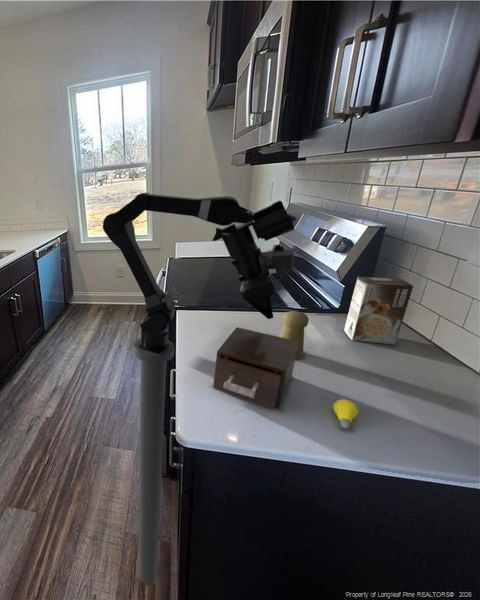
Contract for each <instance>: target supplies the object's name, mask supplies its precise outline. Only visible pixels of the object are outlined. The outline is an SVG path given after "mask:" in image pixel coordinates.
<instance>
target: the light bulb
mask: <svg viewBox="0 0 480 600" xmlns="http://www.w3.org/2000/svg"><path fill="white" fill-rule="evenodd" d="M332 407H333V412H334V413H335V415H336V416H337V417H338V420H339V422H340V427H341V428H343V429H345V430H347V429H350V428H351V423H352V422H353V420H354V419H355V418H356V417H357V416H358V414H359V411H358V407H357V405H356V404H355V403H354V402H353V401H351V400H349V399H345V398H343V399H337V400H336V401H335V402H334V403H333V405H332Z"/></svg>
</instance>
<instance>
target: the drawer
mask: <svg viewBox="0 0 480 600" xmlns="http://www.w3.org/2000/svg"><path fill="white" fill-rule="evenodd" d="M215 366H216V372H215V371H214V376H215V381H214V380H213V384H214V387H213V389H214V390H217V391H219V392H223V393H225V394H229V395H231V396H234V397H237V398H239V399H242V400H245V401H247V402H250V403H253V404H256V405H259V406H261V407H265V408H267V409H270V410H273V411H275V410H276V409H275V407H276V402H277V397H278V392H279V387H280V382H281V377H282V375H281V373H280V372H277V371H273V370H270V369H266V368H263V367H259V366H256V365H253V364H249V363H246V362H242V361H239V360H235V359H232V358H228V357H225V356H224V358H221V357H218V358H217V363H216V362H215Z"/></svg>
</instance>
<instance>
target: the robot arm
mask: <svg viewBox="0 0 480 600" xmlns="http://www.w3.org/2000/svg"><path fill="white" fill-rule="evenodd" d="M145 211H148V212H154V213H164V214H172V215H179V216H187V217H188V216H189V217H195V218H197V219H200V220H203V221H205V222H208V223H211V224H214V225H218V226H222V227H223V228H220V227H216V228H215V231H214V234H213V236H212V239H211V240H212V242H216V241H219V240H222V241H223V243H224V246H225V248H226V250H227V253H228V255H229V257H230V261H231V265H232V266H234V268H235V271H236V273H237V277H238V280H239V282H242V283H241V285H240V287H239V293H240V296H241V298H242V300H243V301H244V302H246V303H248V304H249V305H250V306H252V307H253V308H254V309H256V310H257V311H258V312H259V313H260V314H261V315H262V316H263V317H265V319H267V320H270V319H273V318H274V312H273V306H272V301H271V298H272V296H273V295H274V294H275V293H276V292H277V289H276V286H275V284H274V281H273V279H272V277H271V276H270V270H293V269H294V267H295V264H294V263H295V252H293V250H291V249H289V248H288V249H285V248H284V246H283V245H282V244H274V245H273V246H272V248H271V249H270V250H267V251H262V249H261V248H260V247H258V245H257V243H256V240H255V238H254V236H253V233H252V231H251V229H250V227H251V226H252V229H253V231H254V234H255V236H256V238H257V240H259V239H261V240H264V241H265V242H268V241H269V240H272V239H275V238H278V237H280V236H283V235H285V234H287V233H290V232H292V231H293V232H294V231H295V226H294V223H293V220H292V217H291V216H290V214H288V212H287V209H286V208H285V206H284V203H283V201H282V200H277V201H275V202H272V204H270V205H268V206H266V207H264V208H261V209H258V210H257V211H255V212H254V211H251V209H248V208H245V207H243V206H241V204H240V202H239V201H238V199H237V198H236V197H233V196H230V195H223V196H211V197H204V198H203V197H201V198H195V197H193V198H192V197H184V196H174V195H164V194H155V193H150V192H140V193H138V194H137V195H135V197H134V198H133V199H131V201H129V202H128V203H127V204H125V205H123V207H122V208H120V209H119V210H117V211H115V212H111V213H109V214H107V215H106V216H105V217H104V219H103V221H102V224H101V225H102V230H103V233H105V234H106V236H107V237H108V239H109V240H110V241H111V242H112V244H114V245H115V246H116V247H117V248H118V249H119V250H120V251H121V253H122V255H123V258H124V260H125V261H126V264H127V265H128V267H129V269H130V271H131V273H132V275H133V277H134V280H135V282H136V283H137V286H138V287H139V289H140V291H141V293H142V295H143V297H144V303H145V310H146V315H145V316H144V318H143V319H142V321H141V323H140V325H139V326H140V329H141V336H140V338H141V344H139V345H138V347H139V348H142V349H145V350H148V351H151V352H154V353H157V354H159V353H161V352H162V351H163V350H164V349H165V348H166V347H167V346H168V345H169V343H168V340H169V337H170V336H169V334H170V333H169V332H168V325H169V324H170V323H171V322H172V319H173V317H174V314H175V311H176V303H177V302H176V301H175V300H174V299H173V297H172V294H171V290H167V291H166V292H165V291H163V290H162V289H161V288H160V287H159V285H158V283H157V280H156V278H155V276H154V273H152V270H151V269H150V268H151V267H150V266H149V264H148V263H147V260H146V258H145V256H144V254H143V252H142V251H141V248H140V245H139V244H138V242H137V240H136V232H135V227H134V224H133V221H135V220H136V219H137V218H138V217H139V216H141V215H142V214H143V213H144V212H145ZM236 224H239V225H236Z"/></svg>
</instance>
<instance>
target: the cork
mask: <svg viewBox="0 0 480 600" xmlns="http://www.w3.org/2000/svg"><path fill="white" fill-rule="evenodd" d="M282 321H283V322H282V323H283V327H282V330H281V333H280V335H279V337H282V338H286V339H291V340H295V341H299V344H298V348H297V353H296V358H295V360H299V359H303V358H304V345H305V343H304V342H305V328H307V326H308V324H309V322H310V321H309V317H308V315H307V314H306V313H304V312H302V311H298V310H297V311H295V310H291V311H286V312H285V313H284V315H283V316H282Z"/></svg>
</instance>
